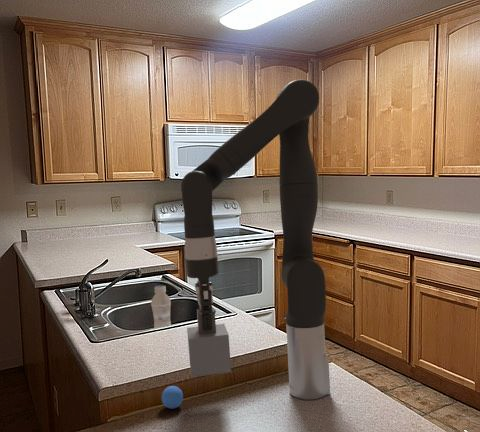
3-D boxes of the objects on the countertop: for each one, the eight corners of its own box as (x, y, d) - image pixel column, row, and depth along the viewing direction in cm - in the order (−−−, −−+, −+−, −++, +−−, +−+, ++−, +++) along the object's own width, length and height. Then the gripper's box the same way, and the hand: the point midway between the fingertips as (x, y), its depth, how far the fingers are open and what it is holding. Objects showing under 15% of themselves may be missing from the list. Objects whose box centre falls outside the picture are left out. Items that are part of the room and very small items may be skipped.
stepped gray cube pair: (226, 358, 116) (222, 303, 115) (231, 372, 107) (226, 313, 106) (189, 362, 114) (185, 307, 114) (191, 377, 105) (186, 317, 105)
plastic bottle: (170, 348, 152) (166, 288, 151) (150, 348, 154) (146, 288, 153) (176, 342, 159) (173, 284, 158) (158, 342, 160) (154, 284, 159)
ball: (183, 401, 112) (182, 381, 112) (183, 410, 107) (182, 389, 107) (162, 404, 112) (161, 383, 111) (162, 413, 107) (160, 392, 106)
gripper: (220, 258, 103) (225, 334, 103) (214, 251, 117) (219, 318, 118) (186, 261, 102) (192, 338, 102) (184, 253, 116) (189, 321, 116)
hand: (206, 327), depth 110 cm, fingers closed on stepped gray cube pair, 4 cm apart
